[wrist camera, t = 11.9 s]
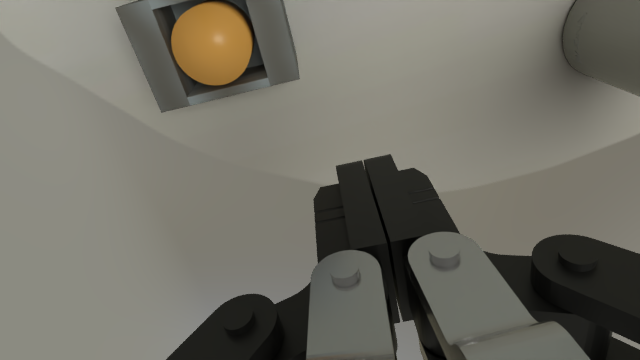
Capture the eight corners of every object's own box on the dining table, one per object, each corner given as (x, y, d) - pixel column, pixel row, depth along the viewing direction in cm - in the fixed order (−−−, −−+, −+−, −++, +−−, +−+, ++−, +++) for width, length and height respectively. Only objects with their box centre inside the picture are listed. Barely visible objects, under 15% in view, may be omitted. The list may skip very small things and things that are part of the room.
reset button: (242, -10, 28) (236, -4, 25) (262, 61, 31) (260, 75, 27) (174, 8, 29) (158, 16, 25) (199, 76, 31) (188, 92, 27)
